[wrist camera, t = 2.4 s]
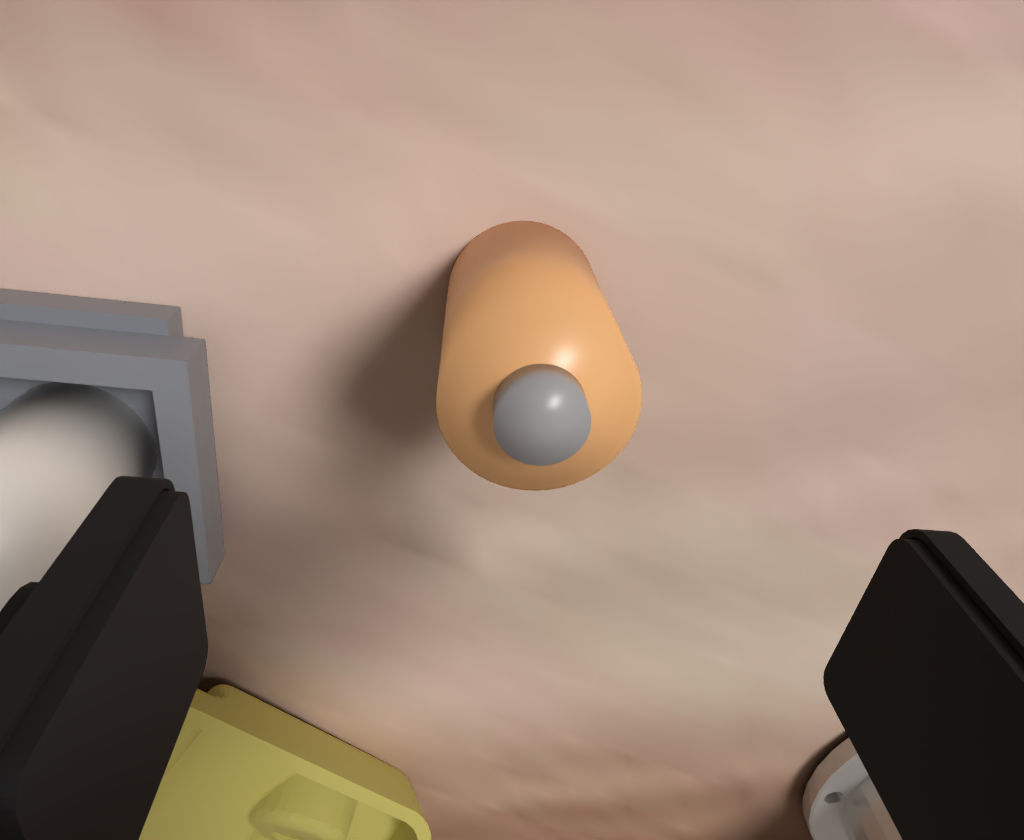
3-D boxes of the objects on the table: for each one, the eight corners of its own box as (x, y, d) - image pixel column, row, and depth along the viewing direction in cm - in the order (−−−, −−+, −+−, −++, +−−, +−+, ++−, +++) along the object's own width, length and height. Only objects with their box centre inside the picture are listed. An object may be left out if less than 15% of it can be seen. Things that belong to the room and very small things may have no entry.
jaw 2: (147, 388, 21) (-10, 565, 14) (164, 507, 23) (34, 710, 16) (-10, 374, 21) (-249, 549, 14) (22, 496, 23) (-172, 700, 16)
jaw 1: (607, 230, 20) (672, 335, 13) (580, 367, 22) (625, 519, 16) (454, 212, 20) (442, 312, 13) (442, 354, 22) (426, 503, 15)
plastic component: (454, 829, 31) (303, 1023, 30) (407, 725, 37) (283, 882, 36) (2, 618, 22) (-233, 888, 21) (46, 530, 28) (-132, 732, 27)
